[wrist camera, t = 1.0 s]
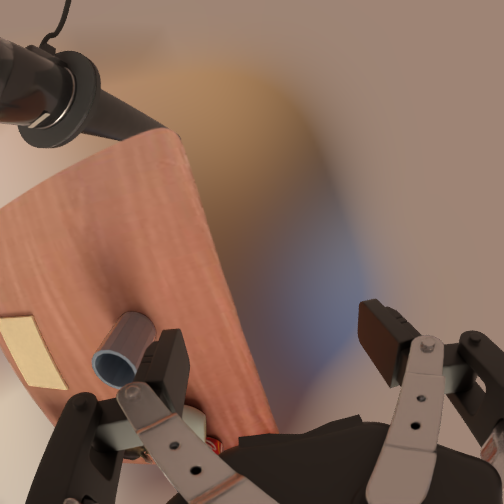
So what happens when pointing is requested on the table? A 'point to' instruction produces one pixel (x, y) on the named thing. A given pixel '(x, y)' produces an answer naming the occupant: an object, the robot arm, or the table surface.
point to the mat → (31, 352)
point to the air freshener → (195, 421)
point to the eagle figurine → (137, 453)
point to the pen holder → (123, 349)
